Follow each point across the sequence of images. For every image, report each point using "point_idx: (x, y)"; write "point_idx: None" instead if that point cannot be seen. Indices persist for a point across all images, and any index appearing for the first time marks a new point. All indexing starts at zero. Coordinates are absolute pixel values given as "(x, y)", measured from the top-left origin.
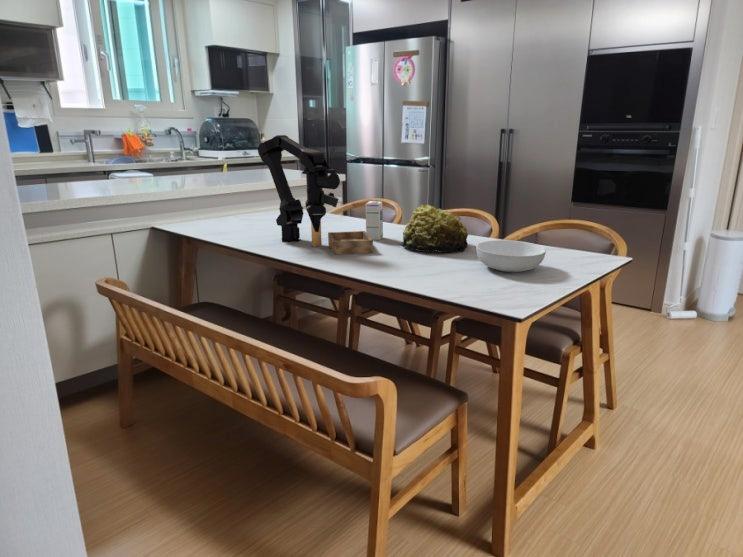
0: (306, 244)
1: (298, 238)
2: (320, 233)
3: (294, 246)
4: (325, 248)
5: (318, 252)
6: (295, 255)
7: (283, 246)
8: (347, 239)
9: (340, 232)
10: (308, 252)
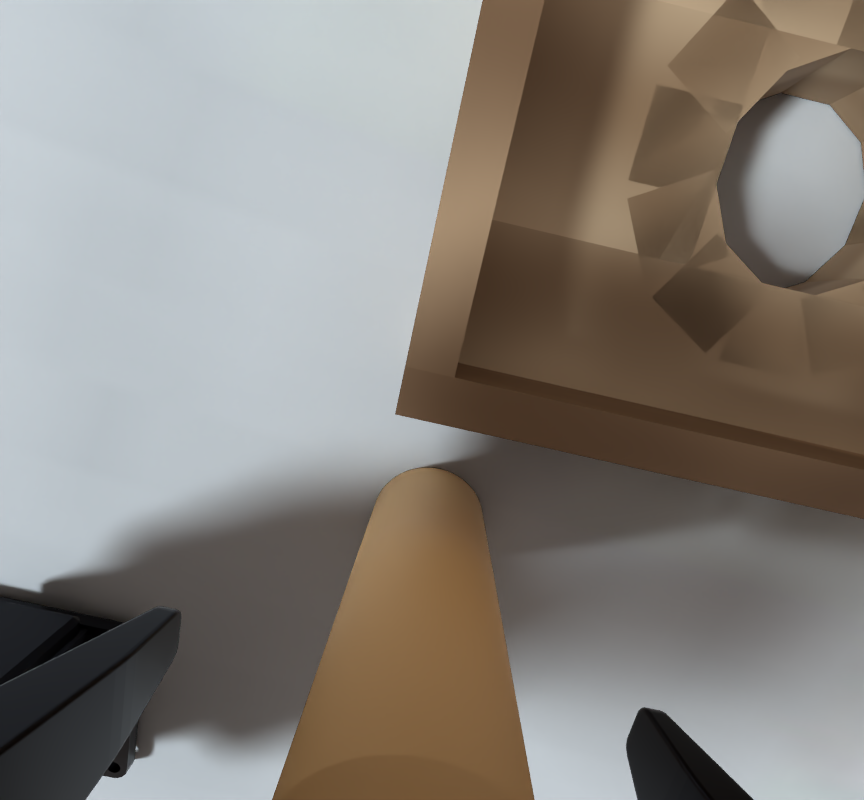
0: (323, 595)
1: (80, 629)
2: (482, 578)
3: None
4: (605, 476)
5: (740, 595)
6: None
7: None
8: (572, 115)
9: (498, 185)
10: (683, 674)
